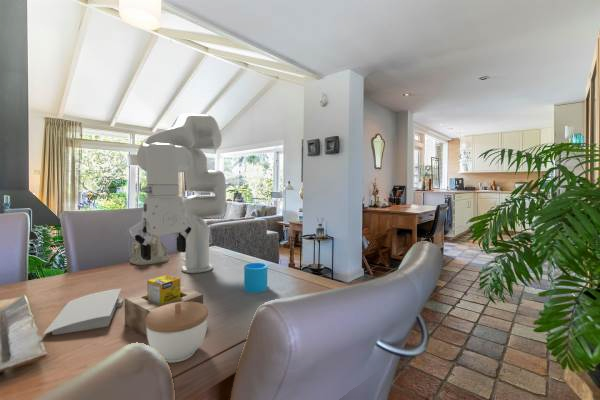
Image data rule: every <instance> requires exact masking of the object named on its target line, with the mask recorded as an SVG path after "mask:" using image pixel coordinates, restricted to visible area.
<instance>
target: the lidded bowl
mask: <svg viewBox="0 0 600 400" xmlns="http://www.w3.org/2000/svg"><path fill="white" fill-rule="evenodd" d="M208 315H209V309H208V307H207V306H206V305H205V304H204V303H203V304H201V303H198V302H188V301H187V302H176V303H170V304H167V305H163V306H161V307H158V308H156V309H154V310H152V311H151V312H150V313H149V314H148V315H147V316H146V319H145V322H146V332H147V337H146V339H147V342H148V346H149V347H150V346H151V347H153V348H155V349H156V350H157V351H159V353H160V354H161V355H162V356H163V357H164V358H165V360H166V361H167V362H166V363H170V364H171V363H173V364H174V363H179V362H183V361H186V360H188V359H189V358H191V357H192V356H194V354H195V353H196V351H197V350H198V349H199V348H200V347H201V345H202V344H203V342H204V340H205V337H206V335H207V334H206V333H207V329H208V328H207V327H208Z"/></svg>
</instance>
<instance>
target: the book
mask: <svg viewBox="0 0 600 400" xmlns="http://www.w3.org/2000/svg"><path fill="white" fill-rule="evenodd" d="M121 292H122V288H113V289H108V290H104V291H103V290H102V291H99V292H94V293H90V294H86V295H84V296H80V297H77V298H75V299H72V300H70V301H68V302H67V303H66V304H65V306H64V307H63V308H62V309H61V311H60V312H59V313H58V315H57V316H56V317H55V318H54V320H52V322H51V324H49V326H48V327H46V330H45V331H44V332H43V334H42V336H45V335H47V334H50V333H51V334H52V336H56V335H61V334H63V335H64V334H68V333H77V332H81V331H87V330H93V329H98V328H106V327H109V326H110V324H111V321H112V318H113V317H114V316H113V315H114V313H115V311H116V308H121V307H123V304H124V298H119V297H120V294H121Z"/></svg>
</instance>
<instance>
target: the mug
mask: <svg viewBox="0 0 600 400" xmlns="http://www.w3.org/2000/svg"><path fill="white" fill-rule="evenodd" d="M243 266H244V267H243V269H244V271H243V277H244V278H243V281H244V282H243V283H244V285H243V290H244V291H245V292H247V293H252V294H253V293H254V294H255V293H256V294H257V293H262V292H265V291H267V290H268V264H267V263H264V262H251V263H250V262H249V263H247V264H245V265H243Z"/></svg>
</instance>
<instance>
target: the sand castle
mask: <svg viewBox="0 0 600 400" xmlns="http://www.w3.org/2000/svg"><path fill="white" fill-rule="evenodd" d="M142 235H143V232H141V236H142ZM148 244H149V245H151V259H150V260H145V259H143V258H142V257H141V247H140V244H139V243H138V242H137V241H136V240H135V241H134V242H132V244H131V248H130V251H131V257H130V259H129V263H131V264H133V265H142V266H143V265H151V264H157V263H158V264H159V263H164V262H168V261H170V257H169V255H168V254H169V253H168V247H167V246H165V245H164V243H163V242H162V239H161V236H159V237H153V240H152V239H151V240H150V242H149V243H148Z"/></svg>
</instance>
